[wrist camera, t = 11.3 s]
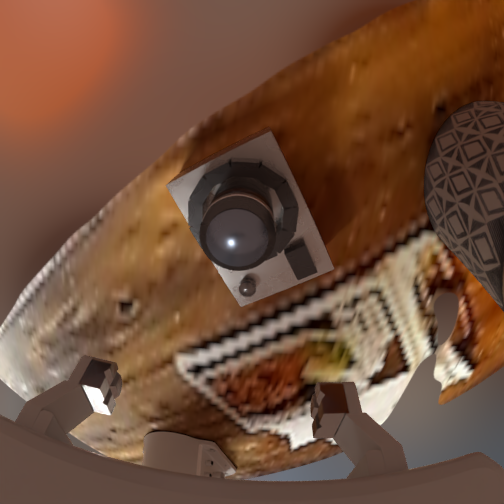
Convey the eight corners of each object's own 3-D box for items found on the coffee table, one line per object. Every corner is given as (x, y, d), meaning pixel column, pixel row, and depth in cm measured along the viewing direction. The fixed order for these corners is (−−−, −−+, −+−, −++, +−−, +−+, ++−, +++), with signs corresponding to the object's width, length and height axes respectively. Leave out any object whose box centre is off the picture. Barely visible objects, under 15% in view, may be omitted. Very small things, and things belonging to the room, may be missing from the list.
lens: (280, 184, 26) (286, 212, 20) (263, 238, 28) (264, 281, 22) (220, 168, 26) (206, 192, 19) (207, 224, 28) (191, 263, 21)
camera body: (325, 246, 34) (338, 279, 28) (243, 280, 36) (239, 317, 30) (269, 126, 29) (271, 133, 23) (179, 172, 31) (159, 191, 25)
